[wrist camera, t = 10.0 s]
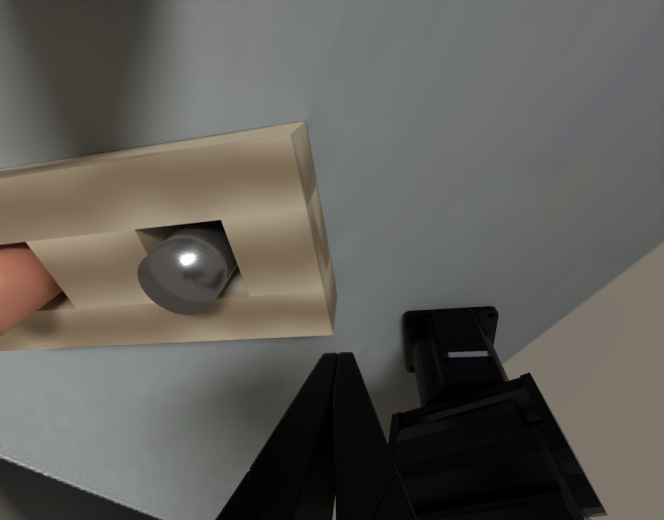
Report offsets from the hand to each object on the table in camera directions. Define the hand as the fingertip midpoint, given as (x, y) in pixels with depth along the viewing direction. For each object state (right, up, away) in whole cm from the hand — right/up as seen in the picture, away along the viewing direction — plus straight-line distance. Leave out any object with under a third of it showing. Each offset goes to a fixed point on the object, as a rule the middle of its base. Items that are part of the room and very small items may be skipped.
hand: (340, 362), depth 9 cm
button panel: (-14, +4, +13) cm, 19 cm away
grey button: (-8, +4, +12) cm, 15 cm away
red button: (-20, +3, +13) cm, 24 cm away
